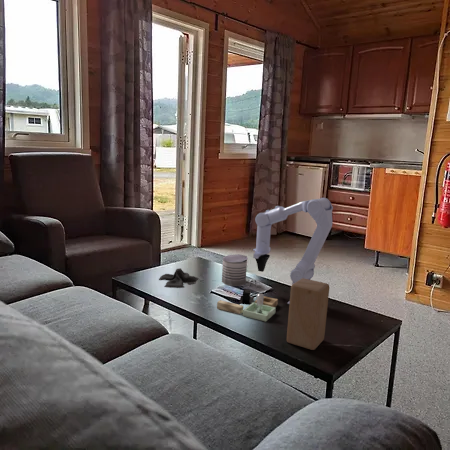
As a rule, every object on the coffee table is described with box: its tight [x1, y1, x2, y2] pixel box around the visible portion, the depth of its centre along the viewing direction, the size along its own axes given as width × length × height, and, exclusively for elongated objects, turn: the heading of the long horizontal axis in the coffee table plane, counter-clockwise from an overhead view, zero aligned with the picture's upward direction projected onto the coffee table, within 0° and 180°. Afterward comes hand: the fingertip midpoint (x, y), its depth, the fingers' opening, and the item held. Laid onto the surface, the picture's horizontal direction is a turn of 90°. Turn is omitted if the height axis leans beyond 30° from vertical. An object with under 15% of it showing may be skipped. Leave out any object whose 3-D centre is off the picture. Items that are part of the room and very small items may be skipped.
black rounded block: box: [238, 288, 255, 306], centre depth 172 cm, size 12×7×5 cm, turn 170°
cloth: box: [158, 268, 200, 289], centre depth 192 cm, size 22×19×6 cm
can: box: [221, 253, 248, 287], centre depth 192 cm, size 11×11×12 cm
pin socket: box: [254, 295, 279, 308], centre depth 167 cm, size 7×7×2 cm
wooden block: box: [286, 278, 330, 351], centre depth 136 cm, size 10×10×20 cm
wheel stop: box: [216, 299, 244, 315], centre depth 160 cm, size 10×2×3 cm, turn 63°
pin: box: [256, 293, 265, 314], centre depth 157 cm, size 2×2×8 cm
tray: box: [242, 301, 277, 322], centre depth 158 cm, size 9×9×2 cm
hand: (261, 271), depth 181 cm, fingers closed
